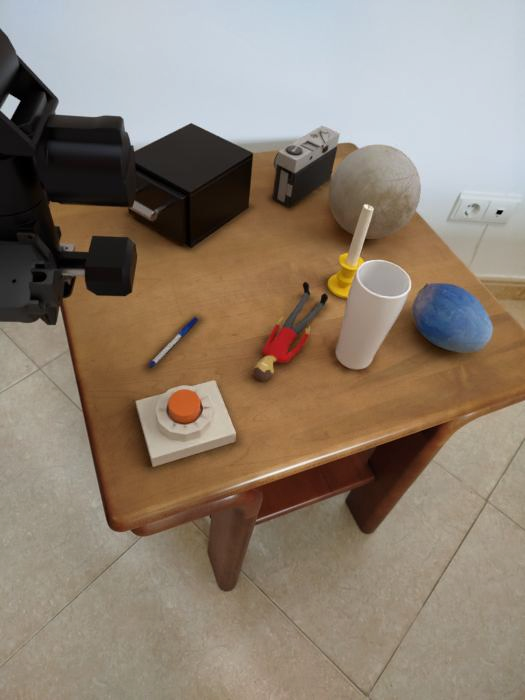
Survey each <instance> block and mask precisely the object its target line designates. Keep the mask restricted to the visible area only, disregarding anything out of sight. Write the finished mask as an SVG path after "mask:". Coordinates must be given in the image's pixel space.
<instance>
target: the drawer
mask: <svg viewBox="0 0 525 700" xmlns="http://www.w3.org/2000/svg"><path fill="white" fill-rule="evenodd" d="M127 211H128V214H129V215H130V216H132V217H134V218H136V219H137V220H139V221H141V222H143V223H144V224H146V225H148V226H149V227H151V228H153V229H154V230H156V231H157V232H159V233H161V234H163V236H164V235H165V236H166V237H168V238H169V239H171V240H173V241H175V242H176V243H178V244H179V245H181V246H186V245H185V244H186V243H188V226H187V196H186V194H185V193H183V192H181V191H179V190H177V189H176V188H174V187H172V186H170V185H168V184H166V183H165V182H163V181H161V180H159V179H157V178H155V177H154V176H152V175H150V174H148V173H146V172H144V171H143V170H141V169H139V168H138V169H137V168H136V188H135V200H134V204H133V207H132V208H127Z"/></svg>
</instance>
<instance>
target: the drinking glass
mask: <svg viewBox="0 0 525 700" xmlns="http://www.w3.org/2000/svg"><path fill="white" fill-rule="evenodd" d="M411 289H412V280H411V277H410V275H409V274H408V272H407V271H405V269H403V268H402V267H400V266H399V265H397V264H396V263H393V262H391V261H389V260H383V259H371V260H368V261H364V263H363V264H361V265H360V266H359V267H358V269H357V270H356V273H355V276H354V278H353V281H352V284H351V287H350V290H349V293H348V297H347V298H346V302H345V307H344V312H343V317H342V321H341V327H340V331H339V335H338V341H337V343H336V346H335V357H336V358H337V361H338V362H339V363H340V364H341V365H342V366H344V367H346V368H347V369H351V370H355V371H356V370H363V369H366V368H368V367H369V366H370V365H371V364H372V362H373V360H374V358H375V356H376V355H377V352H378V350H379V349H380V347H381V346H382V344H383V343H384V342H385V339H386V337H387V336H388V334H389V332H390V331H391V329H392V328H393V326H394V324H395V323H396V321H397V319H398V318H399V316H400V314H401V312H402V310H403V308H404V306H405V304H406V302H407V299H408V297H409V294H410V291H411Z"/></svg>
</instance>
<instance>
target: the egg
mask: <svg viewBox="0 0 525 700" xmlns="http://www.w3.org/2000/svg"><path fill="white" fill-rule="evenodd" d="M411 312H412V317H413V322H414V324H415V327H416V328H417V330H418V331H419V333H420V334H421V335H422V336H423V337H424V338H425V339H427V340H428V341H429V342H430V343H432V344H433V345H436V346H437V347H439V348H441V349H445V350H447V351H451V352H456V353H463V354H470V353H471V354H472V353H475V352H478V351H481V350H482V349H484V348H485V347H486V346H487V345H488V343H489V341H490V340H491V338H492V337H493V333H494V326H493V323H492V320H491V318H490V316H489V314H488V312H487V310H486V308H485V307H484V305H483V304H482V302H481V301H480V300H479V299H478V298H477V297H476V296H475V295H474V294H472V293H471V292H469V291H468V290H466V289H465V288H463V287H461V286H458V285H455V284H453V283H443V282H442V283H441V282H436V283H435V282H434V283H425V285H424V286H423V287H422V288H421V289H419V290H418V292H417V293H416V296H415V298H414V300H413V303H412V307H411Z"/></svg>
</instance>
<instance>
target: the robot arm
mask: <svg viewBox="0 0 525 700" xmlns="http://www.w3.org/2000/svg"><path fill="white" fill-rule="evenodd" d="M9 96H12V97H13V98H15V99H17V101H19V102H18V104H17V106H16V108H15V110H14V112H13V114H12V115H11V117H10V118H9V117H8V116H7V115H6V114H5V113H4V112H3V111H2V110H1V109H2V107H3V106H4V104H5V103H6V101H7V99H8V98H9ZM59 103H60V100H59V97H57V95H56V94H54V92H53V91H52V90H51V89H50V88H49V87H48V85H46V84H45V83H44V82H43V81H42V80H41V79H40V78H39V76H38V75H37V74H36V73H35V72H34V70H32V69H31V68H30V67H29V66H28V65H27V64H26V63H25V61H24V60H23V59H22V58H21V57H20V56H19V55H18V54H17V50H16V49H15V47H14V45H13V42H12V41H11V40H10V38H9V36H8V35H7V34H6V33H5V32H4V31H3V29H2V28H1V27H0V323H22V324H33V323H35V322H37V321H39V319H40V320H41V321H42V322H43V323H45V324H46V325H47V326H56V325H57V322H58V318H59V312H60V307H61V306H62V305H63V300H64V299H67V298H70V297H71V296H72V294H73V292H74V288H75V284H76V281H77V277H84V283H85V287H86V290H87V291H88V292H90V293H91V294H94V295H95V296H99V297H127V296H129V295H130V294H132V293H133V289H134V282H135V277H136V276H135V275H136V268H137V263H138V251H137V245H136V243H135V242H134V241H133V240H132V239H131V238H130V237H129V236H112V235H110V236H109V235H92V236H91V239H90V243H89V247H88V250H87V251H77V250H76V246H75V244H74V243H65V242H63V243H61V242H60V241H61V238H62V234H63V233H62V230H61V227H60V225H55V222H54V218H53V215H52V211H51V208H50V203H54V204H55V203H56V204H57V203H58V205H59V204H60V205H64V206H65V205H69V206H87V207H88V206H89V207H107V208H127V209H128V208H132V207H133V204H134V200H135V188H136V168H135V154H134V151H135V146H134V145H132V144H131V143H132V142H131V139H130V135H129V133H128V131H126V129H125V128H126V127H125V121H124V118H123V117H122V116H120V115H109V114H107V115H106V114H105V115H99V116H83V115H69V114H68V115H67V114H57V113H56V110H57V108H58V105H59ZM75 250H76V251H75Z"/></svg>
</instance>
